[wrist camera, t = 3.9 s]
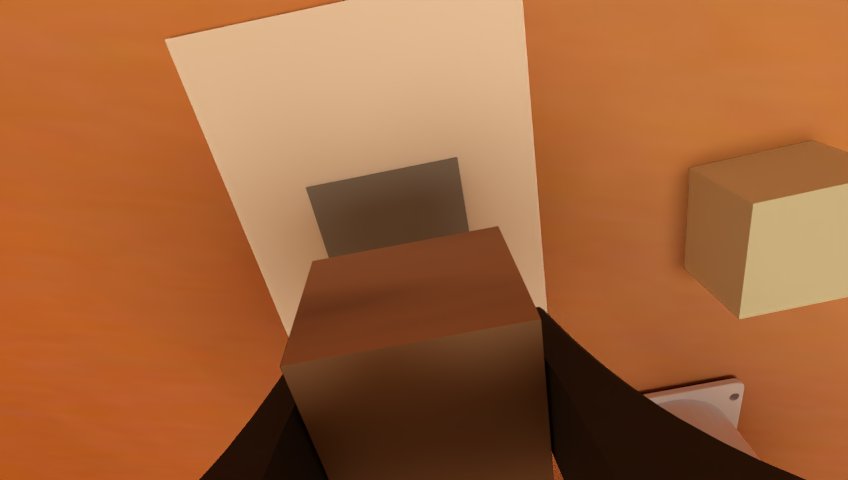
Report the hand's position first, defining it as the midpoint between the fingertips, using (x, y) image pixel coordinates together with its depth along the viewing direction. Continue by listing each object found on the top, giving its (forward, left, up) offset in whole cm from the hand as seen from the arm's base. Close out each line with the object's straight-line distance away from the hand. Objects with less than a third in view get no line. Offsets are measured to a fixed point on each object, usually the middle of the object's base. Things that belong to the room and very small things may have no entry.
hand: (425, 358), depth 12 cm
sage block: (-2, -14, -9) cm, 17 cm away
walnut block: (0, 0, -2) cm, 2 cm away
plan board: (0, +1, -8) cm, 8 cm away
